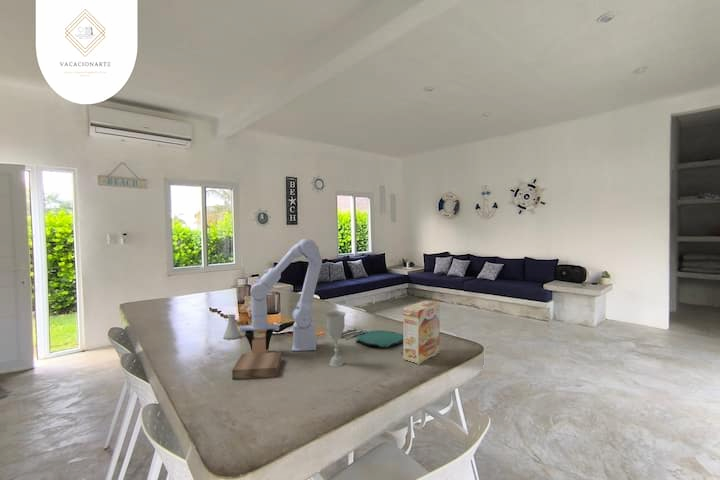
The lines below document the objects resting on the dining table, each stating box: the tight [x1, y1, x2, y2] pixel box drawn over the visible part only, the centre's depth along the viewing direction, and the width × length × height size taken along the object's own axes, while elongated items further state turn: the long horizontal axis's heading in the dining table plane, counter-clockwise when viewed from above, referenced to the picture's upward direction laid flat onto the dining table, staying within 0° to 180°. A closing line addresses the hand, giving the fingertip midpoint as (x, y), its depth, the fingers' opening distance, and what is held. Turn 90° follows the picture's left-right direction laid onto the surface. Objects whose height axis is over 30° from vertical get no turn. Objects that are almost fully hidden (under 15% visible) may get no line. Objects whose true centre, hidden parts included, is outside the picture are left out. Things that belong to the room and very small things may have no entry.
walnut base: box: [231, 351, 282, 380], centre depth 120 cm, size 14×14×3 cm
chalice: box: [325, 310, 347, 367], centre depth 123 cm, size 7×7×18 cm
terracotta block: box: [251, 335, 269, 354], centre depth 134 cm, size 5×5×6 cm
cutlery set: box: [340, 328, 403, 348], centre depth 150 cm, size 20×30×2 cm, turn 51°
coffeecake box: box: [402, 300, 441, 365], centre depth 129 cm, size 15×7×20 cm, turn 137°
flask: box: [223, 313, 242, 340], centre depth 154 cm, size 7×7×10 cm
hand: (260, 349), depth 134 cm, fingers closed on terracotta block, 5 cm apart
